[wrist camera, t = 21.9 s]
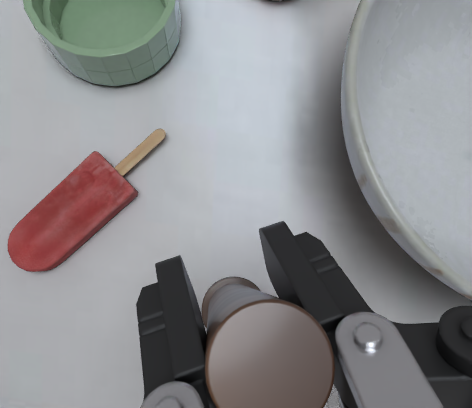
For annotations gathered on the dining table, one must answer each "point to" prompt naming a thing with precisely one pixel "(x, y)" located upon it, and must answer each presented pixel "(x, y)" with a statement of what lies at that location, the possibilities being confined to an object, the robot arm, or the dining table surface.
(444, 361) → the robot arm
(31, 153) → the dining table surface
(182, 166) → the dining table surface
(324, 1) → the dining table surface
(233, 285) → the brown flanged cylinder
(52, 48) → the pet bowl
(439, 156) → the dishware bowl
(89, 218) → the popsicle
